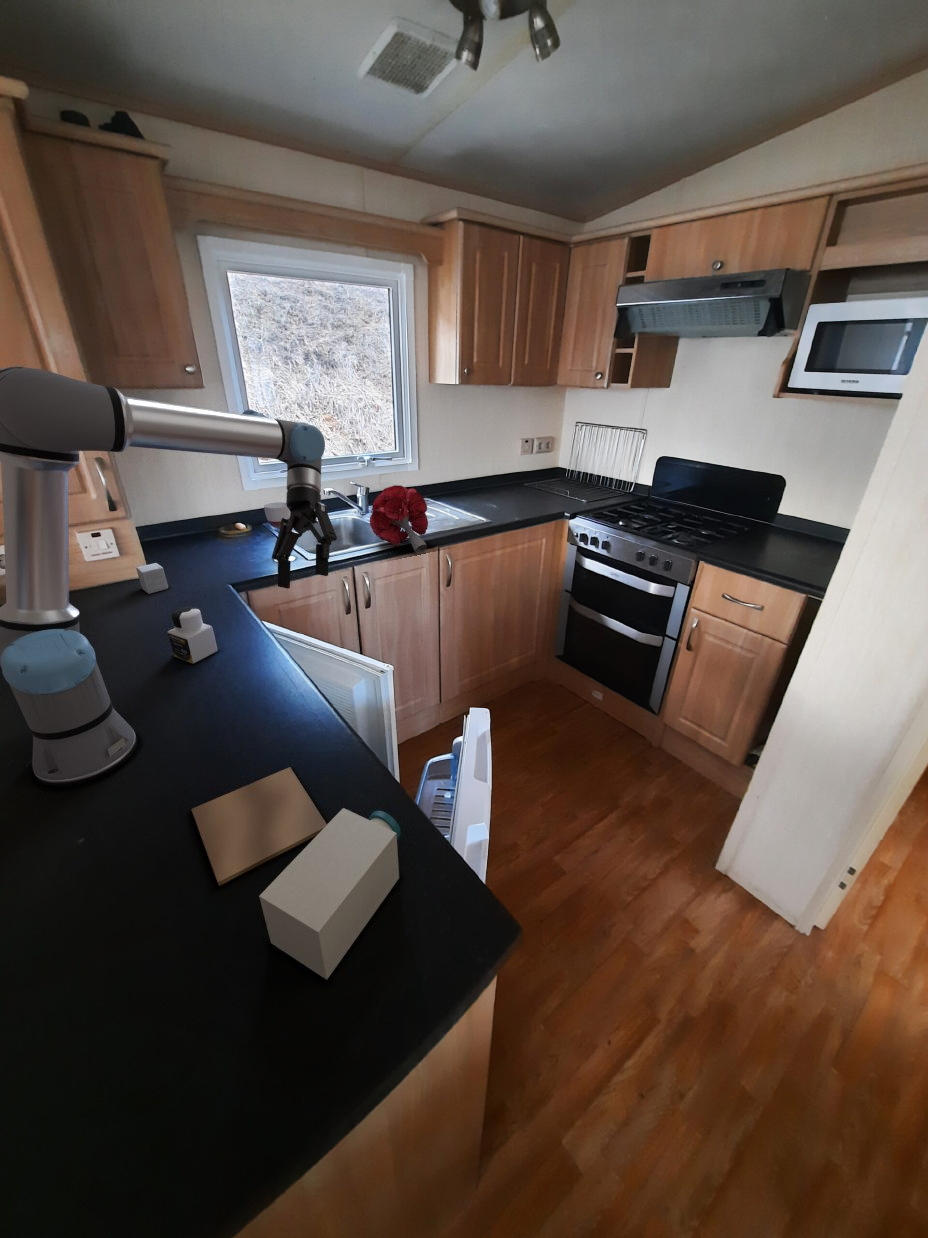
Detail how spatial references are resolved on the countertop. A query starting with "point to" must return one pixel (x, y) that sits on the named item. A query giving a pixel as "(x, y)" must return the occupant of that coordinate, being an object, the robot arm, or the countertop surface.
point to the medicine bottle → (191, 635)
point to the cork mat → (256, 824)
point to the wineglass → (277, 516)
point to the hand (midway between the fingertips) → (302, 581)
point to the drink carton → (332, 889)
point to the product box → (152, 578)
